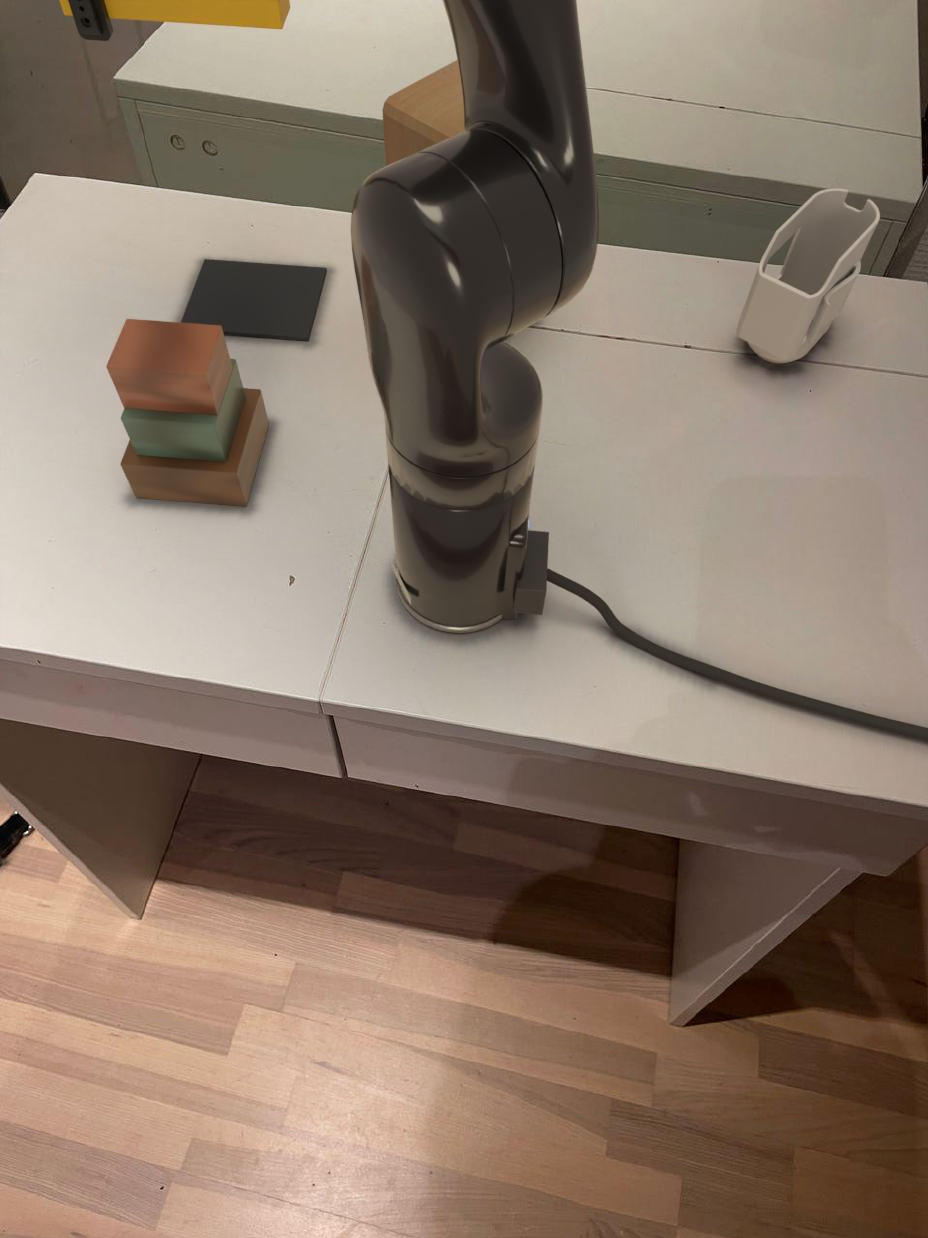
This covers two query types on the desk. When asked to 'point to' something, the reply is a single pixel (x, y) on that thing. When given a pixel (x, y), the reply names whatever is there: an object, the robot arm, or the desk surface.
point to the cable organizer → (807, 276)
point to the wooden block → (423, 113)
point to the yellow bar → (200, 11)
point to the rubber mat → (256, 298)
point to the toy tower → (186, 414)
